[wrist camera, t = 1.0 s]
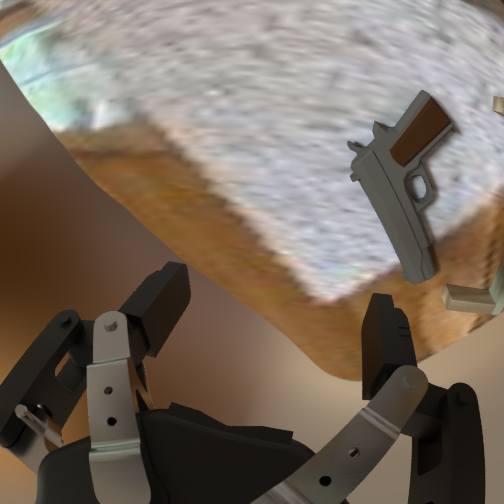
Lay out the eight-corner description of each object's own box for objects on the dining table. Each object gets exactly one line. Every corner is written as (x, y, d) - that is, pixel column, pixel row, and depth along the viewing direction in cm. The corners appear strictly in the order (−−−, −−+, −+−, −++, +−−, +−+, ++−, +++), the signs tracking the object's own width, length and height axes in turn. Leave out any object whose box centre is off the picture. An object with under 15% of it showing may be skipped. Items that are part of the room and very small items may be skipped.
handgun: (484, 235, 25) (403, 277, 30) (426, 84, 19) (327, 139, 25) (494, 247, 22) (407, 291, 28) (437, 84, 17) (327, 144, 23)
